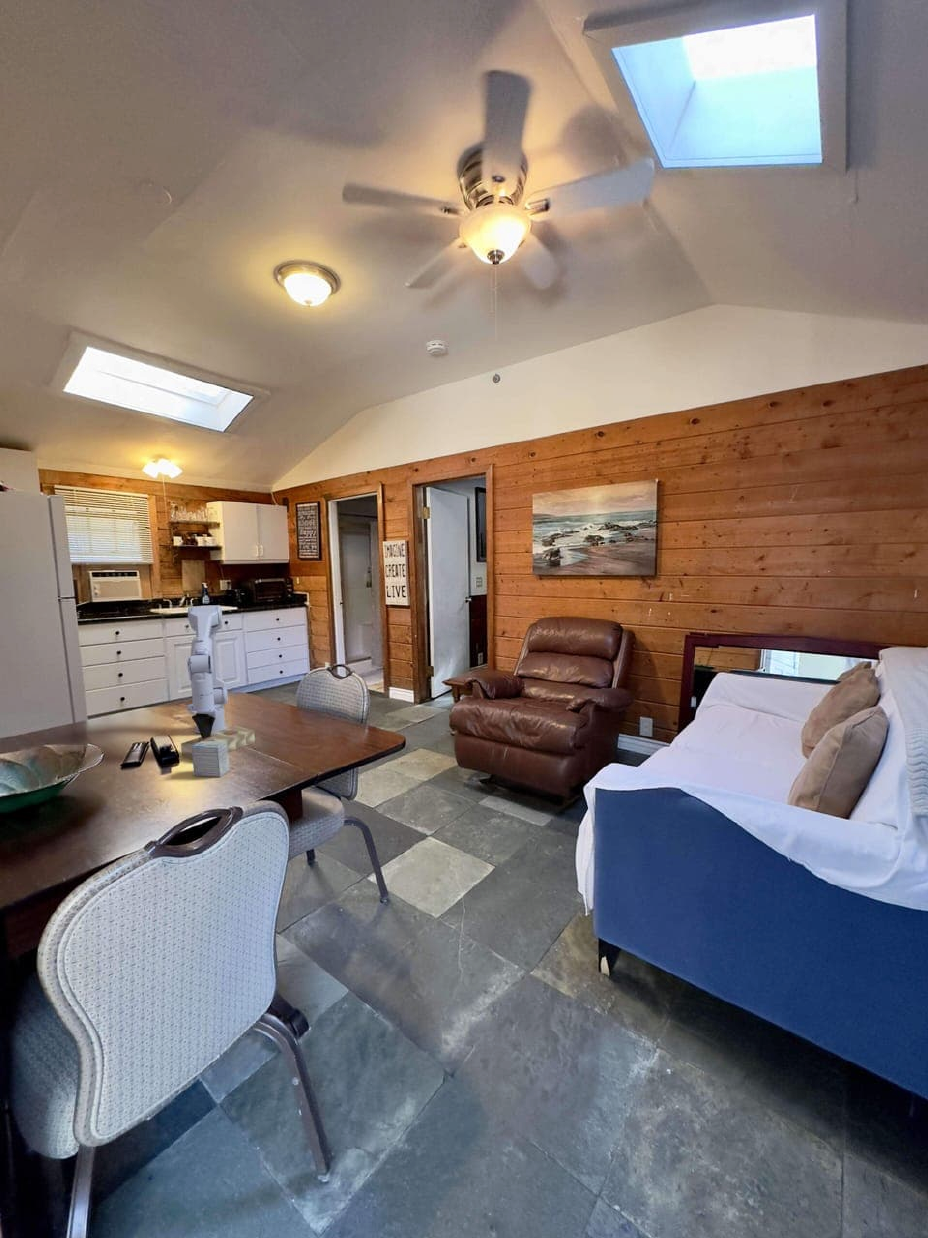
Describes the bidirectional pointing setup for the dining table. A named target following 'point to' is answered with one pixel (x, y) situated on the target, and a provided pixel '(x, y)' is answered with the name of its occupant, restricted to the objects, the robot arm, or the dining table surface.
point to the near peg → (210, 738)
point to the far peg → (230, 732)
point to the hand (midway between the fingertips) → (206, 736)
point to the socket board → (223, 740)
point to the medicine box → (210, 758)
